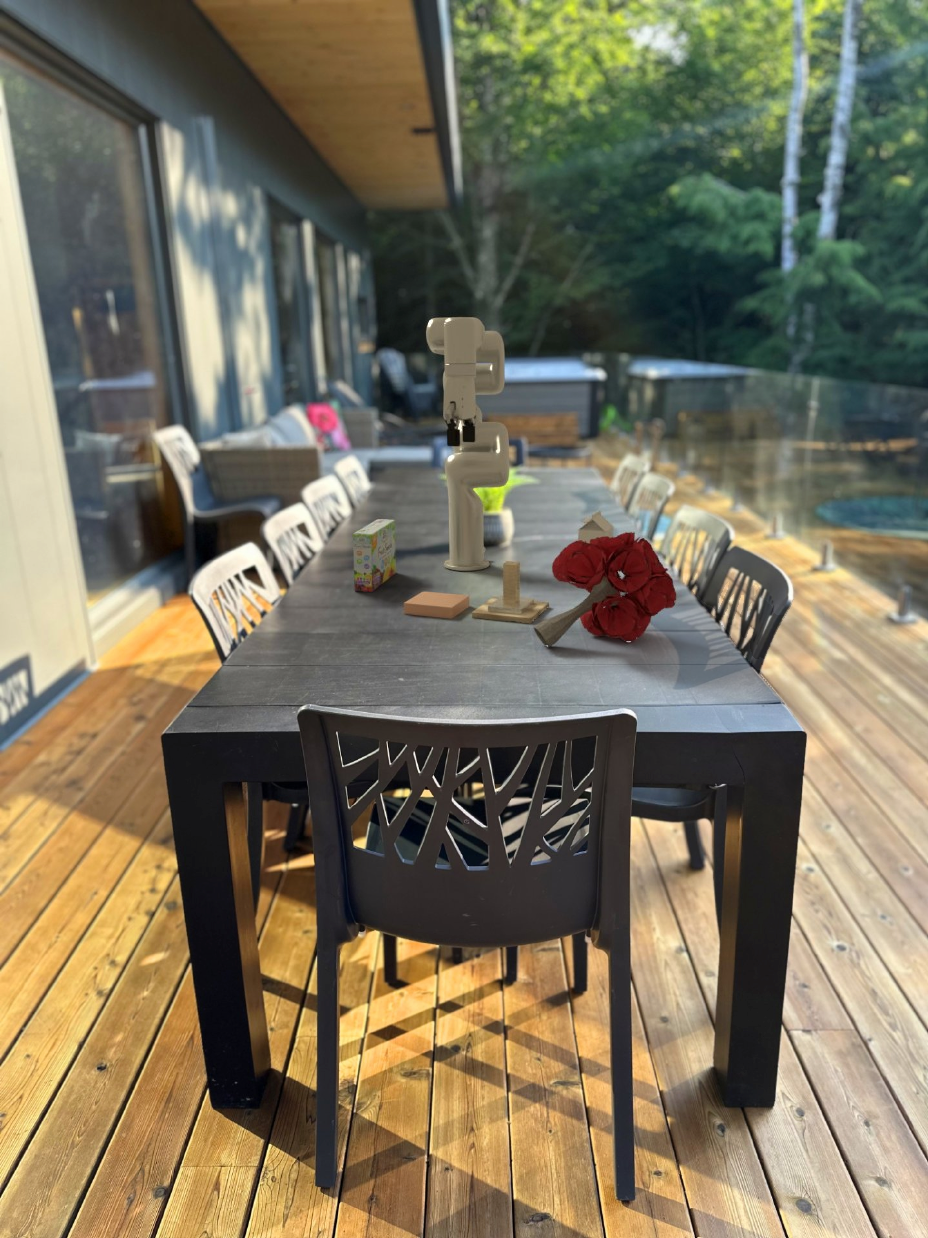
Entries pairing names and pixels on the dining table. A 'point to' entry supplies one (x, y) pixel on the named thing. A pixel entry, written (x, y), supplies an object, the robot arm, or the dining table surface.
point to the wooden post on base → (511, 592)
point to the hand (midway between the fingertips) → (461, 444)
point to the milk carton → (595, 528)
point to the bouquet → (611, 588)
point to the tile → (436, 604)
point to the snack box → (374, 555)
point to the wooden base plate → (523, 618)
